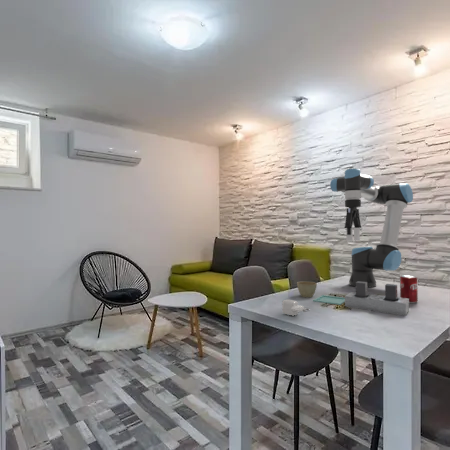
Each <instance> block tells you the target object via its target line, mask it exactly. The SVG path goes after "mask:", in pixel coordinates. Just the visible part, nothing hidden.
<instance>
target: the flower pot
mask: <svg viewBox="0 0 450 450" xmlns="http://www.w3.org/2000/svg"><path fill="white" fill-rule="evenodd" d="M296 285H297V289H298V293H299V294H300V296H301V297H303V298H312V297H313V296H314V294H315V293H316V291H317V287H318V286H317V285H318V283H317V282H313V281H297V282H296Z"/></svg>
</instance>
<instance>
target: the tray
mask: <svg viewBox="0 0 450 450" xmlns="http://www.w3.org/2000/svg"><path fill="white" fill-rule="evenodd" d="M312 301H313V302H314V303H315V302H317V303H322V304H323V303H325V304H331V305H339V306H341V305H342V304H345V297H341V296H333V295H327V294H326V295H325V294H322V295H320V296H318V297H316V298H314V299H312Z"/></svg>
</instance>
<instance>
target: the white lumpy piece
mask: <svg viewBox="0 0 450 450" xmlns="http://www.w3.org/2000/svg"><path fill="white" fill-rule="evenodd" d="M281 306H282V307H281V309H282V311H281V312H282V314H283V313H285V314H289V315H292V316H291V317H294V315H295V316H298V315H297V314H299V313H300V312H307V311H310V308H307V307H305V306H304V305H301V304H299V302H298V301H297V300H293V299H285V300H282V303H281ZM285 314H284V315H285ZM289 315H288V316H289Z"/></svg>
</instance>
